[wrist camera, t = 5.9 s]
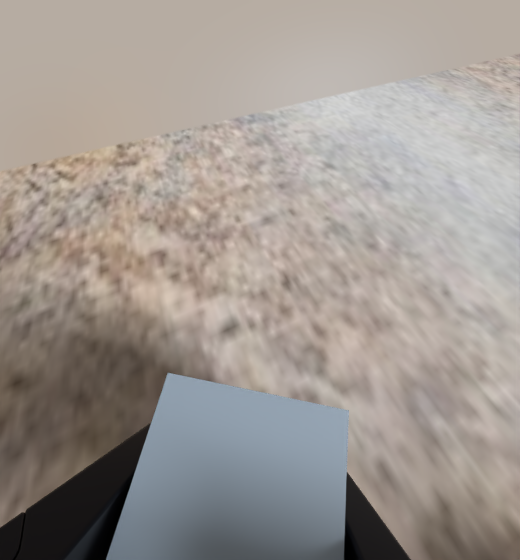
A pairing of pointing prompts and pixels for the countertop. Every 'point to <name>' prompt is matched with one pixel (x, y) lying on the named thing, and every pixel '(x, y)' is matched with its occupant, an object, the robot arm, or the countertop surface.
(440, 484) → the countertop surface
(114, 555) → the blue pillar
